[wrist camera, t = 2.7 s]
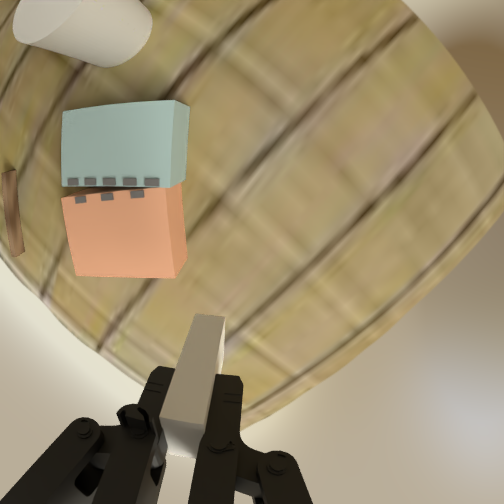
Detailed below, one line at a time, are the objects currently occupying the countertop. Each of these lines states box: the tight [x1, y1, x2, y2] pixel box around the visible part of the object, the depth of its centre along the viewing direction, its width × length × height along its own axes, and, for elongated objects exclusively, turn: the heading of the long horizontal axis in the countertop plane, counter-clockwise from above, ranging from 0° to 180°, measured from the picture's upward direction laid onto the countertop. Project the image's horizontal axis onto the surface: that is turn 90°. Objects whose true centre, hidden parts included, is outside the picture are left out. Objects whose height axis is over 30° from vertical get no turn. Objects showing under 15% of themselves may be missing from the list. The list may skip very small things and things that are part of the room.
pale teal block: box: [61, 100, 190, 188], centre depth 23 cm, size 7×11×5 cm, turn 85°
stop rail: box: [2, 170, 25, 257], centre depth 27 cm, size 11×1×2 cm, turn 175°
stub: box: [61, 182, 188, 278], centre depth 26 cm, size 8×11×5 cm
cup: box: [13, 0, 152, 68], centre depth 15 cm, size 8×8×12 cm
